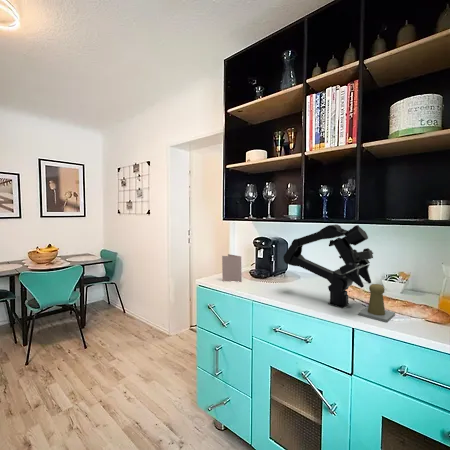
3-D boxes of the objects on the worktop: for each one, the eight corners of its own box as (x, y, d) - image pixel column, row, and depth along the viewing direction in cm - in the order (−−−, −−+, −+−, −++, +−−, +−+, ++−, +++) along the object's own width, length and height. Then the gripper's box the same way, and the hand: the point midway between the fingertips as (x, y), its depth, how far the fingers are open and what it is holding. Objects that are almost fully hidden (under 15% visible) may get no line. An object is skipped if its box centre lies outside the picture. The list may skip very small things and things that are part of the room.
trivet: (358, 314, 104) (358, 312, 104) (367, 308, 111) (367, 305, 111) (386, 322, 97) (386, 319, 97) (395, 314, 104) (395, 312, 104)
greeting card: (242, 281, 155) (242, 256, 154) (233, 284, 150) (232, 257, 149) (229, 278, 163) (229, 253, 163) (220, 280, 159) (219, 255, 158)
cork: (379, 309, 107) (379, 282, 107) (388, 315, 101) (389, 286, 101) (364, 309, 107) (364, 282, 106) (373, 315, 101) (374, 287, 100)
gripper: (354, 242, 101) (378, 280, 96) (370, 240, 114) (392, 273, 109) (330, 256, 108) (351, 292, 102) (347, 252, 121) (367, 284, 116)
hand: (366, 285), depth 107 cm, fingers open, 9 cm apart
